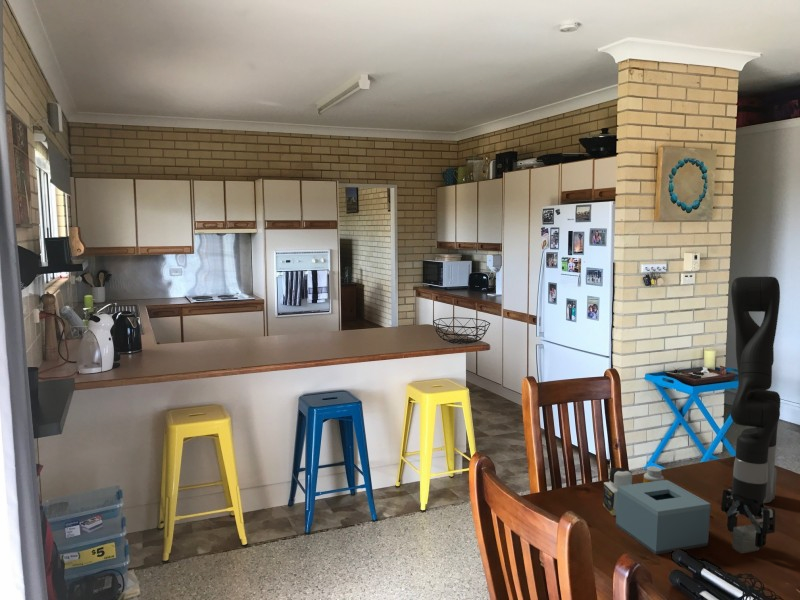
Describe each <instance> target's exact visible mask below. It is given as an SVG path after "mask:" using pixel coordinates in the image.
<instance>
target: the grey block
mask: <svg viewBox="0 0 800 600" xmlns="http://www.w3.org/2000/svg"><path fill="white" fill-rule="evenodd" d="M756 532H757V531H756V528H755V526H754V524H752V523H751V524H745V525H739V526H738V525H737V527H734V528H733V532H732V544H731V549H734V550H736V552H738V553H740V554H745V553H752V552H755V551H760V547H757V546H755V538H756Z"/></svg>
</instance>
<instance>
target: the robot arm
mask: <svg viewBox="0 0 800 600" xmlns="http://www.w3.org/2000/svg"><path fill="white" fill-rule="evenodd" d="M780 288H781V287H780V282H779V279H778V278H776V277H775V276H739V277H736V278H734V279H733V281H732V284H731V288H730V291H731V292H730V294H731V295H730V297H731V305H732V310H733V311H732V313H733V318H734V324H735V355H736V356H735V357H736V364H737V365H736V366H737V367H736V368H737V376H738V377H737V379H738V380H737V383H738V384H737V390H736V394H735V396H734V399H733V402H732V404H731V407H730V412H729V414H730V418H731V420H732V422H733V423H734V424H736V425H738V426H743V427H744V426H745V427H749V428H746V429H743V430H742V431H741V433H740V434H739V435H738V436H737V438H736V443H735V444H736V446H735V447H736V448H735V458H734V463H733V471H732V483H731V484H732V486H731V488H726V489H723V490H722V497H721V506H720V510H721V512H723V513H725V515H726V516H727V522H726V527H727V531H729V532H730V533H733V528H734V527H738V515H742V516H744V517H746V518H747V519H749V521H750V523H751V525H753V526H755V528H756V531H757V532H756V538H755V546H757V547H759V548H763V547H764V546H766V542H767V535H770V534H775V532H776V510H775V508H768V507H765V504H768V503H772V501H773V500H775V498H776V497H775V496H776V484H777V468H776V467H775V463H776V452H777V451H776V449H777V438H778V435H777V434H778V424H779V420H780V416H781V396H780V394H779V392H777V391H774V390H769V389H770V388H772V383H773V382H772V381H773V379H772V377H773V364H774V359H775V358H774V357H775V356H774V346H775V345H774V344H775V339H776V333H777V326H778V320H779V310H780V302H781V289H780ZM751 312H753V313H755V312H758V313H759V312H760V313H761V312H763V313H764V316H763V320H762V323H761V325H759V324H758V323H757V322H756V321H755V320H754V318H753V317H752V316H751V314H750V313H751ZM756 518H758V519H756Z"/></svg>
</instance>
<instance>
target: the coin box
mask: <svg viewBox="0 0 800 600" xmlns="http://www.w3.org/2000/svg"><path fill="white" fill-rule="evenodd" d="M711 505H712V504H711V503H710V502H709V501H706V500H704V499H703V498H701V497H699V496H697V495H695V494H694V493H693V492H691V491H688V490H686V489H684V488H682V487H681V486H679V485H677V484H676V483H674V482H672V481H670V480H668V479H664V480H661V481H654V482H646V483H643V482H640V483H632V484H631V485H623V486H618V490H617V511H616V516H615V526H616V527H617V528H618V529H620V530H621V531H623V532H624V533H625V534H626V535H628V536H629V537H631V538H632V539H633V540H635V541H636V542H637V543H639V544H640V545H642V546H643V547H644V548H646V549H647V550H648V551H650V552H651V553H653V554H654V555H661V554H667V553H671V552H672V551H673V550H674V549H683V550H684V551H685V550H690V549H697V548H702V547H707V546H708V545H709V535H710V533H709V532H710V519H711V518H710V517H711ZM683 550H682V551H683ZM672 553H673V552H672Z"/></svg>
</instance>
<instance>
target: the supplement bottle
mask: <svg viewBox="0 0 800 600" xmlns="http://www.w3.org/2000/svg"><path fill="white" fill-rule="evenodd" d="M661 480H665V477H664V475H663V474H662V468H660V467H658V466H651V465H650V466H647V467H646V472H645V473H644V474H643V482H642V483H646V482H654V481H661Z"/></svg>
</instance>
